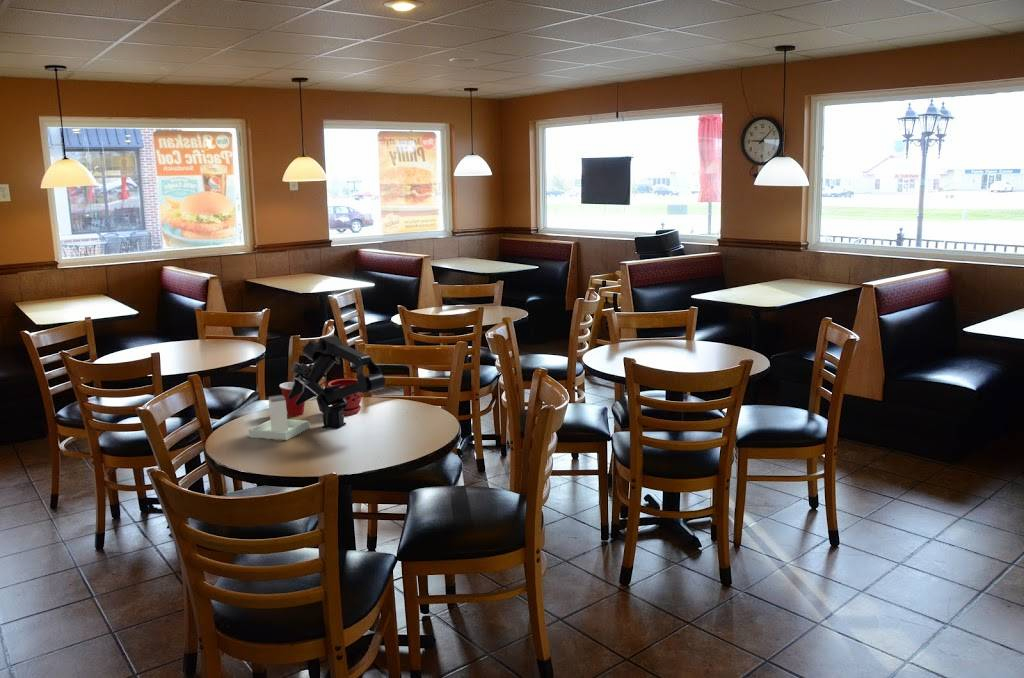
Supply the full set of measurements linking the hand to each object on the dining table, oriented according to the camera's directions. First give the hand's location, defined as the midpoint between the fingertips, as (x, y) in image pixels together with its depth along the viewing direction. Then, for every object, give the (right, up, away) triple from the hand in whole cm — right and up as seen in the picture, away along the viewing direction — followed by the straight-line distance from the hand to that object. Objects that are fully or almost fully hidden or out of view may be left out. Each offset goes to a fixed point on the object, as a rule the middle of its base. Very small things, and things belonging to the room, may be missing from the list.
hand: (292, 401), depth 295 cm
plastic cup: (-5, -7, +24) cm, 26 cm away
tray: (-4, -11, 0) cm, 12 cm away
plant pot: (+14, -6, +25) cm, 30 cm away
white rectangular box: (-4, -11, 0) cm, 12 cm away
